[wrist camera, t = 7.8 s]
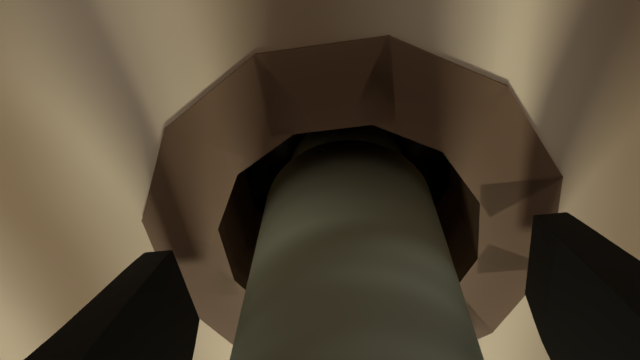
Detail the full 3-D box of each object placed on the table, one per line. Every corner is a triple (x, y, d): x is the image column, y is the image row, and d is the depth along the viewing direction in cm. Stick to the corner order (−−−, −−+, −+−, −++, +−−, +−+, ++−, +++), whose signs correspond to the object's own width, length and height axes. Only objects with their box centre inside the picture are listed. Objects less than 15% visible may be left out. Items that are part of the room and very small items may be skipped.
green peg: (416, 95, 12) (529, 371, 5) (422, 223, 14) (506, 544, 7) (261, 115, 12) (165, 395, 5) (289, 236, 14) (245, 551, 7)
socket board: (831, -154, 9) (1041, -174, 6) (677, 299, 15) (750, 385, 12) (-109, 0, 11) (-252, 32, 8) (92, 344, 17) (47, 426, 14)
